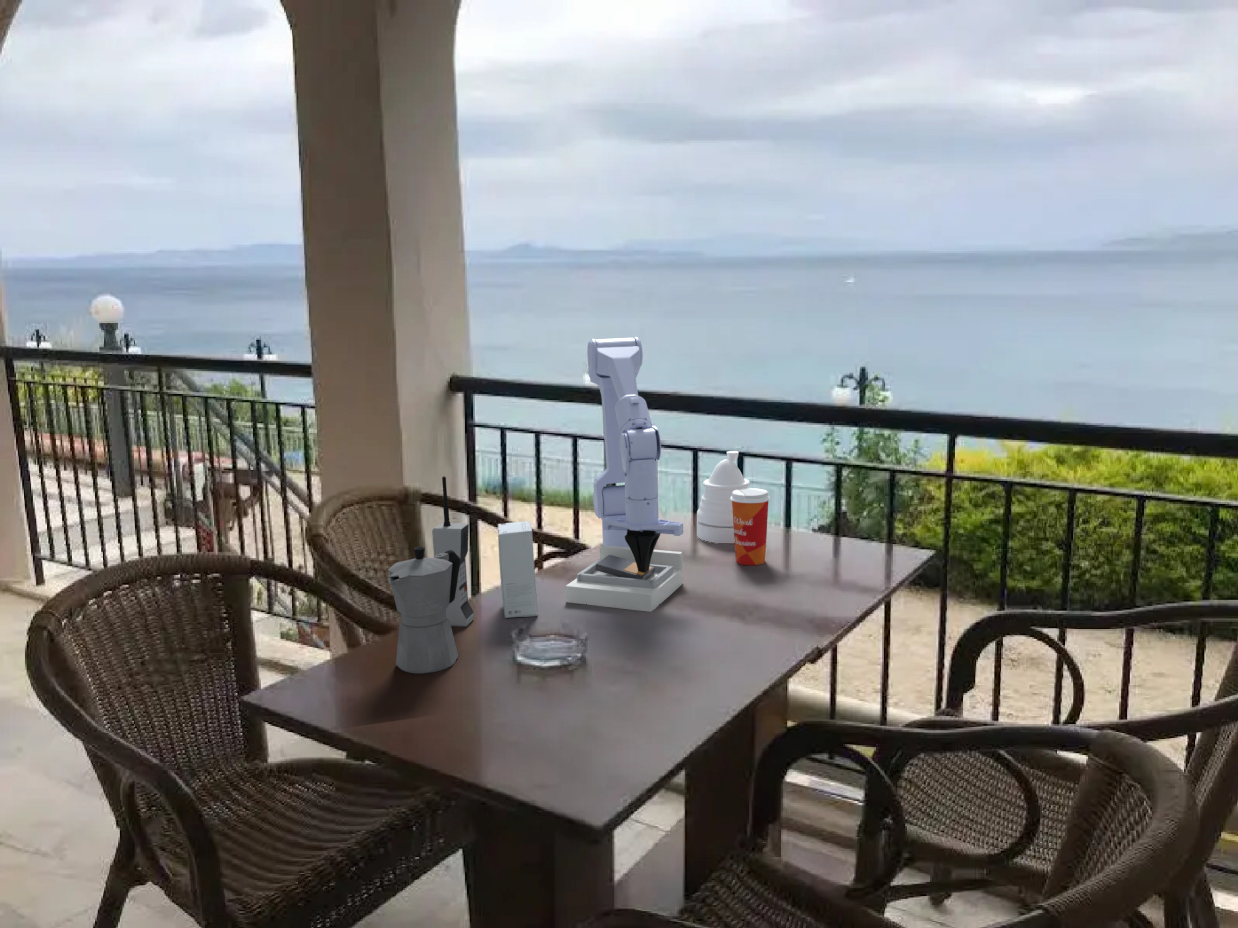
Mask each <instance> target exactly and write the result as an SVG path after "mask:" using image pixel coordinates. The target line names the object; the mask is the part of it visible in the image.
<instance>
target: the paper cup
mask: <svg viewBox="0 0 1238 928" xmlns="http://www.w3.org/2000/svg"><path fill="white" fill-rule="evenodd" d="M730 499H731V500H732V510H733V525H734V540H735V544H734V551H735V560H736V561H735V562H736V563H737V564H738V563H739V564H738V565H742V566H747V565H748V566H761V565H763V564H764V563H765V562H766V553H767V550H766V549H767V538H768V537H767V533H768V520H769V519H768V517H769V501H770V500H771V496H769V491H768V490H766V489H764V488H763V489H762V488H756V487H748V488H746V489H739V490H734V491H733V492H732V496H731V497H730ZM760 564H761V565H760Z"/></svg>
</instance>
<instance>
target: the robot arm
mask: <svg viewBox="0 0 1238 928" xmlns="http://www.w3.org/2000/svg"><path fill="white" fill-rule="evenodd" d="M586 351H587V366H588V377H589V381H590V383H593V384H595V385H597V386H598V387H599V392H600V396H601V407H602V409H601V410H602V423H603V439H604V450H605V464H606V465H605V467H606V469H604V470H603V471H602V472H601V473H600V474H598V476H596V478H595V479H594V481H593V483H592V485H593V494H592V502H593V503H592V505H593V509H594V510H593V511H594V514H595V516H596V517H597V518H598V519H601V524H602V525H601V528H602V532H601V533H602V545H607V546H618V547H630V549H631V551H632V553H633V556H634V558H635V561H636V564H637V568H638V571H640V572H644V573H646V572H647V571H648V570H649V567H650V561H651V557H652V553H653V550H655V547H656V545H657V544H658V543H657V542H658V541H659V538H660V537H661V534H662V535H663V534H664V535H673V536H674V537H675V536H676V537H680V536H682V535H683V534H684V523H683V522H682V521H681V522H680V521H678V522H677V521H671V520H667V519H663V518H659V485H658V484H659V483H658V481H659V480H658V461H659V460H660V459H661V453H662V441H661V435H660V431H659V429H658V427H657V426H656V424H655V423H652V419H651V416H650V412H649V409H648V404H647V402H646V400H645V399H644V397H642V396H640V395H639V392H638V391H639V390H638V386H637V384H638V383H637V379H636V378H637V376H638V375H639V372H640V370H641V367H642V365H643V356H644V355H643V354H644V353H643V345H642V341H641V340H640V338H638V336H633V337H622V338H621V337H619V338H615V337H614V338H600V339H598V338H597V339H596V338H590V340H589V341H588V343H587V350H586ZM621 483H622V484H623V483H624V484H623V485H622V484H621ZM609 484H611V485H609ZM612 484H618V485H612ZM619 484H620V485H619ZM606 485H607V486H606Z"/></svg>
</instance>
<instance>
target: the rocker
mask: <svg viewBox="0 0 1238 928" xmlns="http://www.w3.org/2000/svg"><path fill="white" fill-rule="evenodd" d="M595 570H596V571H600V572H603V573H607V574H611V575H614V576H618V577H623V578H633V579H643V580H646V579H648V578H649V577H650V576H651V575H653V574H654V571H655V567H653V566H650V567H649V570H648V571H647V572H646V573H644V572H640V571H638V568H637V564H636V562H635V561H631V560H627V559H624V558H620V557H616V556H613V555H608V556H607V557H605V558H604V559H602V560H601V561H599V562H598V563H597V564H596V568H595Z"/></svg>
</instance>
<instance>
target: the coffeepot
mask: <svg viewBox="0 0 1238 928" xmlns="http://www.w3.org/2000/svg"><path fill="white" fill-rule="evenodd" d="M425 549H426V547H425V546H420V545H419V546H416V547H414V548H413V552H414V557H415V558H412V559H407V560H403V561H402V560H401V561H398V562H395V563H394V564H393V565H391V566H390V567H389V568H388V569H387V574H388V578H387V583H388V584H389V585H390V586H391V589H392V594H393V598H394V602H395V607H396V611H397V612H398V613H400V624H399V628H398V635H397V636H398V638H397V648H396V649H397V650H396V656H395V657H396V658H395V665H396V666H397V667H398V669H400V670H401V671H403V672H406V673H410V674H430V673H436V672H439V671H443V670H446V669H448V668H450V667H452V666H453V665H454V664H455V663H456V661H457V659H458V657H459V653H458V649H457V646H456V642H455V638H454V634H453V630H452V626H451V625H450V621H449V619H448V618H447V616H446V608H447V607H448V605H449V604H450V603H451V602H453V601H454V599H455V594H456V588H457V581H458V574H459V568H460V558H459V556H458V555H457V554H456V553H455V552H454V551H453V550H448V551H446V552H444V553H440V554H437V555H435V558H434V557H425Z"/></svg>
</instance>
